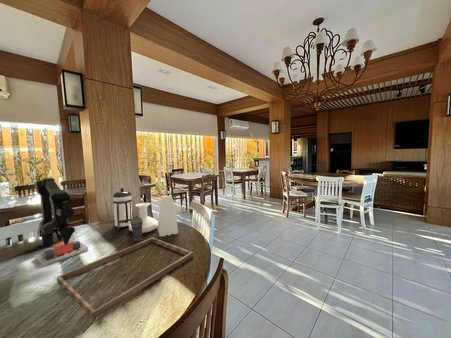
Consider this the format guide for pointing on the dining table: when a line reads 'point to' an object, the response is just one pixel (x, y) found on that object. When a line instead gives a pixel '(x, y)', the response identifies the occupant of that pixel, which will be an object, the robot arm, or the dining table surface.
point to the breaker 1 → (48, 253)
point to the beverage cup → (136, 227)
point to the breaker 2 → (76, 244)
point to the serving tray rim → (128, 293)
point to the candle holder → (145, 218)
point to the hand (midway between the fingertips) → (62, 242)
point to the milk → (167, 217)
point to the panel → (55, 258)
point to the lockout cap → (62, 247)
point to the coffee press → (122, 208)
